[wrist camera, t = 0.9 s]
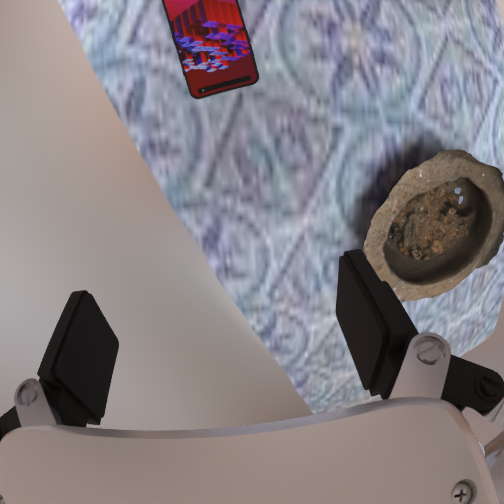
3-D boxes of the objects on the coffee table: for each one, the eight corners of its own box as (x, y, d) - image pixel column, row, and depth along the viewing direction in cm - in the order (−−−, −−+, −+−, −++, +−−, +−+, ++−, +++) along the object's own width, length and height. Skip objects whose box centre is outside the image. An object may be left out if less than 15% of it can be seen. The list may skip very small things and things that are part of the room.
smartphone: (227, -34, 21) (261, 82, 29) (227, -32, 22) (260, 82, 30) (156, -15, 21) (191, 101, 30) (158, -13, 22) (192, 100, 30)
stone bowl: (493, 150, 35) (531, 177, 28) (442, 270, 50) (466, 304, 43) (371, 114, 32) (412, 139, 25) (329, 274, 47) (347, 319, 40)
